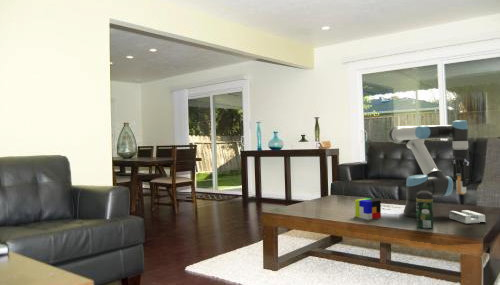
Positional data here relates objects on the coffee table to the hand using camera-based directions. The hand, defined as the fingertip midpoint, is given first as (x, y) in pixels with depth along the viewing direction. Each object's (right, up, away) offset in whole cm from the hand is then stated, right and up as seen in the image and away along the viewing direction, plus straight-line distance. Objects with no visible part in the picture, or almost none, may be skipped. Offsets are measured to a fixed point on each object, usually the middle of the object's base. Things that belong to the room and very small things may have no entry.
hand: (461, 192), depth 213 cm
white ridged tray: (+5, -16, +3) cm, 17 cm away
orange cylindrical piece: (0, -1, 0) cm, 1 cm away
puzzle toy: (-46, -17, +16) cm, 51 cm away
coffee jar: (-24, -17, -11) cm, 31 cm away
